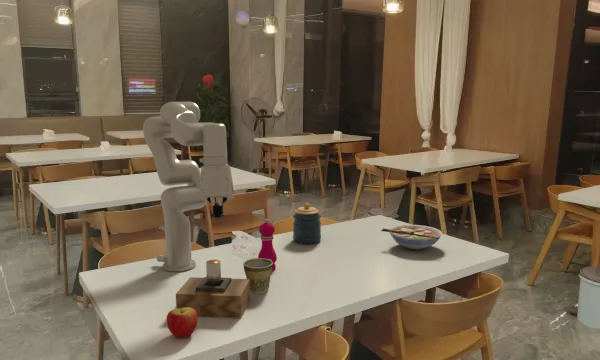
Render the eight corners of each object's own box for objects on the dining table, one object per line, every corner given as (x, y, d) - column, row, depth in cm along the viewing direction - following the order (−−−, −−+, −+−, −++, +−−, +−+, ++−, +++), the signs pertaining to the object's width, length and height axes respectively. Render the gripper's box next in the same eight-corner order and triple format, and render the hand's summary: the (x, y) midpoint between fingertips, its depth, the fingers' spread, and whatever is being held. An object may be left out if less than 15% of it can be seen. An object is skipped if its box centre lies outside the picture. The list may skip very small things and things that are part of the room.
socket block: (176, 315, 151) (175, 290, 150) (191, 297, 165) (190, 273, 163) (241, 318, 149) (240, 292, 148) (250, 299, 163) (249, 275, 162)
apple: (161, 339, 136) (159, 305, 135) (179, 326, 144) (177, 293, 142) (186, 344, 133) (185, 309, 132) (203, 331, 141) (202, 297, 140)
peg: (205, 288, 154) (204, 263, 153) (209, 283, 158) (208, 259, 157) (219, 289, 153) (218, 264, 152) (222, 283, 158) (222, 259, 156)
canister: (295, 236, 236) (294, 200, 233) (322, 237, 234) (322, 200, 231) (290, 244, 223) (290, 206, 220) (319, 245, 221) (319, 207, 218)
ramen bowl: (450, 245, 221) (451, 227, 219) (434, 259, 202) (435, 240, 200) (397, 237, 234) (397, 220, 233) (377, 249, 215) (378, 231, 214)
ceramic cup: (261, 298, 164) (261, 269, 162) (237, 292, 169) (237, 264, 167) (283, 286, 174) (283, 258, 173) (260, 280, 180) (260, 254, 178)
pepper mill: (274, 273, 187) (273, 221, 184) (255, 271, 189) (254, 220, 185) (278, 266, 194) (278, 217, 191) (261, 265, 195) (260, 216, 192)
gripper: (189, 163, 158) (192, 219, 161) (236, 162, 157) (238, 219, 160) (196, 160, 165) (199, 214, 168) (240, 160, 164) (242, 214, 167)
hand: (218, 216), depth 164 cm, fingers closed
